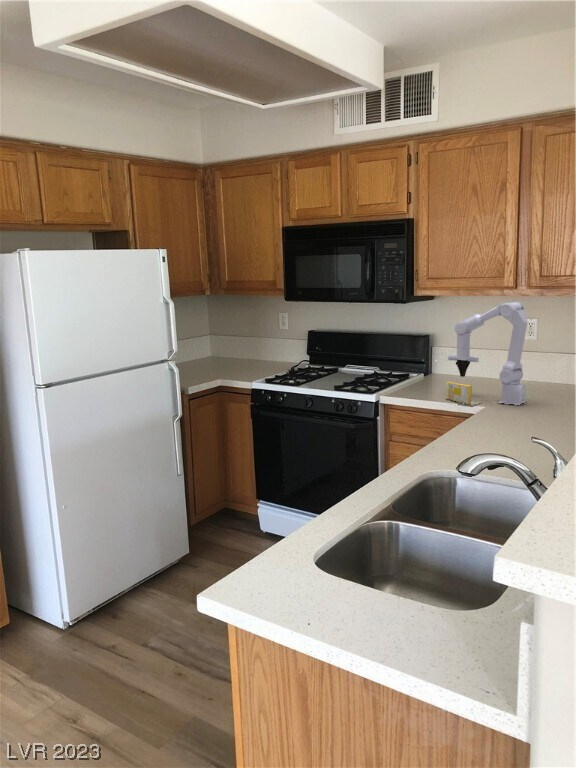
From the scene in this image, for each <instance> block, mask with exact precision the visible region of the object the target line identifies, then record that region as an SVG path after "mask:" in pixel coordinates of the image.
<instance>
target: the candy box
mask: <svg viewBox="0 0 576 768" xmlns="http://www.w3.org/2000/svg"><path fill="white" fill-rule="evenodd" d="M445 384H446V386H445V387H446V390H445V391H446V393H445V394H446V395H445V396H446V397H445V399H446V398H447V399H450V400H449V401H451V400H453V401H452V402H455V401H456V403H458V404H460V403H464V404H468V405H469V404H471V401H472V393H473V391H472V390H473V388H472V385H468V384H462V383H458V382H453V381H446V383H445ZM447 399H446V400H447Z"/></svg>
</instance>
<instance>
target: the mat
mask: <svg viewBox="0 0 576 768" xmlns="http://www.w3.org/2000/svg"><path fill="white" fill-rule="evenodd" d="M457 406H463V407H471V408H473V407H476V406H478V405H477V404H473V405H471V404H469V405H468V404H463V403H457Z"/></svg>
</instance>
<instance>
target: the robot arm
mask: <svg viewBox="0 0 576 768" xmlns="http://www.w3.org/2000/svg"><path fill="white" fill-rule="evenodd" d="M499 316H500V317H502V318H504V319H505V320H507V321H509V323H511V325H512V326H513V327H512V330H511V331H512V332H511V336H510V337H511V338H510V343H509V348H508V353H507V359H506V362H505V363H504V364H503V365H502V369H501V371H500V372H499V379H500V382H501V400H500V401H498V402H497V403H498V404H500V403H506V404H505V405H509V404H514V405H513V406H517V405H519V406H521V405H520V404H522V403H524V404H526V403H525V402H526V395H527V394H526V391H527V389H526V385H525V384H522V383H521V380H522V379H523V377H524V376H523V375H524V372H523V364H522V363H521V359H522V354H523V348H524V343H525V337H526V333H527V327H528V318H527V315H526V307H525V305H523V304H522V303H521V302H519V301H514V302H504V303H502V304H499V305H497V306H495V307H493V308H492V309H490V310H488V311H486V312H484V313H483V314H480V313H479V314H478V313H474V314H472V316H470V317H469V318H464V319H463V321H458V322H457V323H455V326H454V332H455V333H456V355H448V356H447V361H456V362H455V365H456V367H457V369H458V372H459V375H460V376H459V377H460V378H464V377H466V374H467V370H468V368H469V366H470V364H471V362H473V363H479V361H480V360H479V358H480V357H474V356H471V355H470V353H471V352H470V349H471V348H470V347H471V343H470V341H471V340H470V339H471V333H472V332H473V331H475V330H476V329H479V328H481V327H483V326H485V322H486V321H489V320H492V319H494V318H495V317H499ZM522 405H523V404H522Z"/></svg>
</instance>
